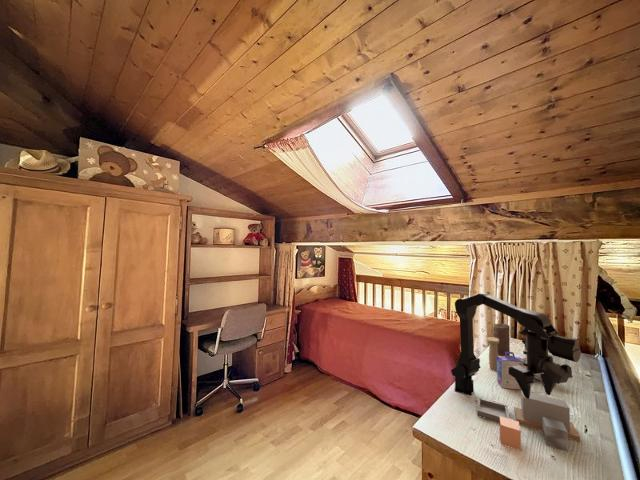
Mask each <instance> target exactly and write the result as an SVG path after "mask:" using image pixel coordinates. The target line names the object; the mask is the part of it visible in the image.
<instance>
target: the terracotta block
mask: <svg viewBox="0 0 640 480" xmlns="http://www.w3.org/2000/svg"><path fill="white" fill-rule="evenodd" d="M509 418H510V417H509ZM509 418H505V417H502V416H500V423H499V441H500V445H503V446H505V445H506V447H508V446H509V448H511V447H512V448H511V449H514V448H515V449H514V450H517V449H519V450H518V451H520V450H521V451H522V445H521V444H522V436H521V435H522V432H521V431H522V430H521V427H520V424H519V421H516V419H512V418H510V419H509Z"/></svg>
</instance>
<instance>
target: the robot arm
mask: <svg viewBox="0 0 640 480" xmlns="http://www.w3.org/2000/svg"><path fill="white" fill-rule="evenodd" d="M483 305H484V306H486V307H489V308H490V309H493V310H495V311H497V312H499V313H501V314H504V315H506V316H507V317H510V318H512V319H514V320H515V321H516V322H517V323H518V324H519V325H520V326H522V327H524V328H523V329H522V330H520V331H519V332H518V333H519V335H522V336H526V350H525V349H524V350H523V354H524V355H525V356H526V355H527V356H526V357H527V362H523V365H524V366H526V367H527V368H528V369H525V368H523V367H521V366H519V365H517V366H511V367H509V368H508V373H509V374H510V375H511V376H512V377H514V378H515V379H516V381H517V383H518V384H519V386H520V388H521V390H522V392H523V394H524V396H525V397H526V398H527V399H529V397H530V392H531V386H532V385H533V384H535V381H534V380H535V377H534V375H538V374H541V377H542V379H541V381H542V384H543V388H544V392H545V394H546V396H551V394H552V392H553V390H554V387H555V386H556V384H558V385H559V384H564V383H565V384H566V383H568V381H569V379H570V378H571V379H572V378H573V369H572V367H571V366H570V365H569V364H567V363H565V364H559V363H556V362H554V360H553V356H554V357H556V358H561V359H564V360H567V361H570V362H573V363H578V362H579V361H580V358H581V355H582V351H581V347H580V345H579V344H578V340H577V339H576V338H572V337H566V336H562V335H560V333H559V332H558V330H557V329H556V328H555V327H554V325H552V323H551V319H550V318H549V316H548V315H547V314H545V313H543V312H540V311H536V310H530V309H528V308H527V309H526V308H521V307H518V306H517V305H514V304H511V303H509V302H507V301H504V300H502V299H499V298H498V297H496V296H493V295H490V294H489V293H487V292H480V293H477V294H475V295H472V296H470V297H469V296H468V297H463V298H458V299H456V300H455V301H454V307H455V312H456V315H457V316H458V318H459V334H460V335H459V336H460V337H459V339H460V341H459V343H460V353H459V356H458V357H457V359H456V360H457V361H456V366H455V367H454V368H451V370H450V371H451V374H452V376H453V377H454V391H455V392H457V393H461V394H465V395H469V396H473V393H474V392H475V391H474V379H473V376H475V375H476V373H478V372H479V371H480V369H481V365H480V362H481V360H480V359H481V358H478V357H477V356H476V355H475V349H474V323H473V320H474V317H475V316H476V314H477V307H479V306H483ZM550 354H551V355H550ZM521 390H520V391H521Z"/></svg>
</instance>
